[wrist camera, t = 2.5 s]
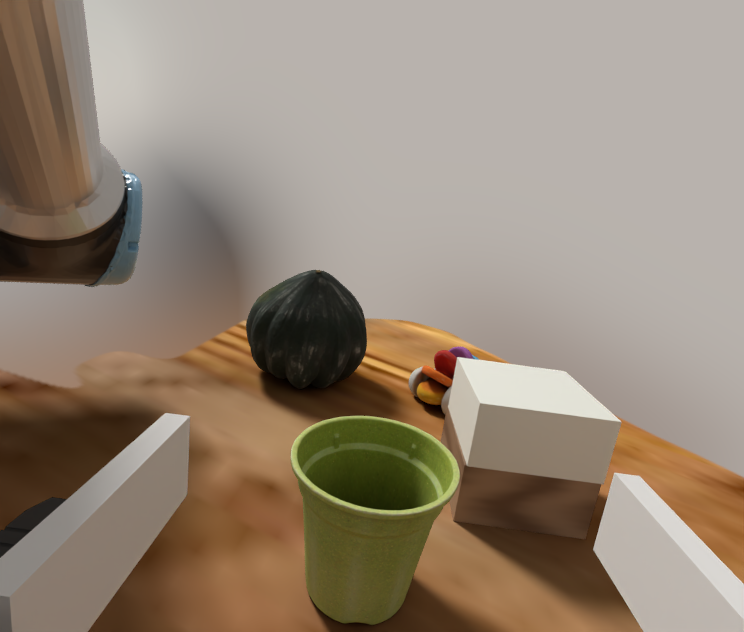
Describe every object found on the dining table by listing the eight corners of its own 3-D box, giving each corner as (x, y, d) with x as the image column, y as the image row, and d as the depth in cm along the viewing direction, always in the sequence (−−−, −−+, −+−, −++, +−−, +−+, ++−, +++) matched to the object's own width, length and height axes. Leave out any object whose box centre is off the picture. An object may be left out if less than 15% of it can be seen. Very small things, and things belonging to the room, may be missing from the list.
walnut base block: (452, 523, 33) (464, 465, 32) (438, 452, 43) (447, 406, 42) (584, 541, 33) (601, 484, 32) (540, 467, 43) (552, 420, 42)
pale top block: (467, 466, 32) (479, 403, 31) (448, 406, 42) (457, 356, 41) (603, 484, 32) (621, 421, 31) (552, 420, 42) (565, 371, 41)
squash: (299, 311, 67) (269, 238, 55) (390, 336, 62) (378, 262, 50) (249, 390, 60) (201, 325, 48) (347, 426, 55) (321, 364, 43)
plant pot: (462, 584, 28) (489, 461, 26) (367, 703, 20) (394, 543, 18) (350, 509, 33) (365, 402, 31) (244, 581, 26) (254, 448, 24)
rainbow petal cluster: (396, 395, 55) (404, 340, 53) (448, 384, 61) (457, 334, 59) (446, 426, 49) (457, 364, 47) (499, 410, 55) (511, 355, 53)
